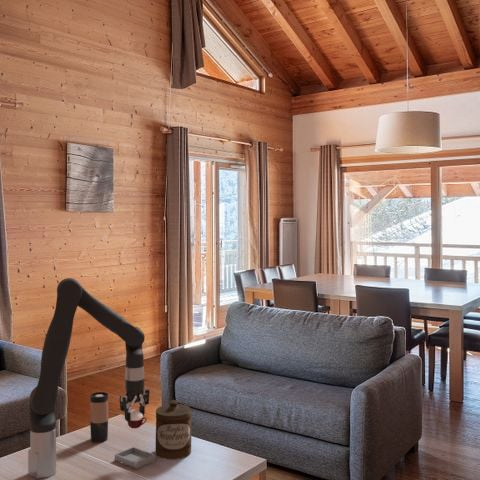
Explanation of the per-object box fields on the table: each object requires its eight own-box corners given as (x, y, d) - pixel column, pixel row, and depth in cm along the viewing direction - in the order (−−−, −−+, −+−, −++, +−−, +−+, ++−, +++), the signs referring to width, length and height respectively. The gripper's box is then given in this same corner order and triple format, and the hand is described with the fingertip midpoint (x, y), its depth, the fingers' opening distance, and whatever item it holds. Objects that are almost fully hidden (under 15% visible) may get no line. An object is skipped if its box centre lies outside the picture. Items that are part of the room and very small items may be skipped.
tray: (136, 469, 222) (136, 463, 222) (114, 460, 230) (114, 454, 230) (155, 461, 230) (155, 454, 230) (133, 452, 238) (133, 446, 238)
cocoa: (147, 425, 232) (148, 396, 232) (142, 430, 225) (144, 400, 225) (124, 423, 233) (126, 394, 232) (119, 428, 226) (121, 398, 226)
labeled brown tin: (156, 461, 230) (156, 407, 229) (154, 446, 244) (154, 395, 243) (193, 458, 233) (193, 405, 232) (189, 444, 247) (189, 393, 246)
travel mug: (110, 436, 254) (110, 392, 254) (104, 443, 247) (104, 397, 246) (93, 435, 255) (93, 391, 254) (87, 442, 248) (87, 397, 247)
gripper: (127, 383, 220) (127, 425, 221) (154, 375, 232) (154, 415, 232) (114, 379, 225) (114, 421, 226) (142, 371, 236) (142, 411, 237)
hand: (134, 418), depth 229 cm, fingers closed on cocoa, 6 cm apart
